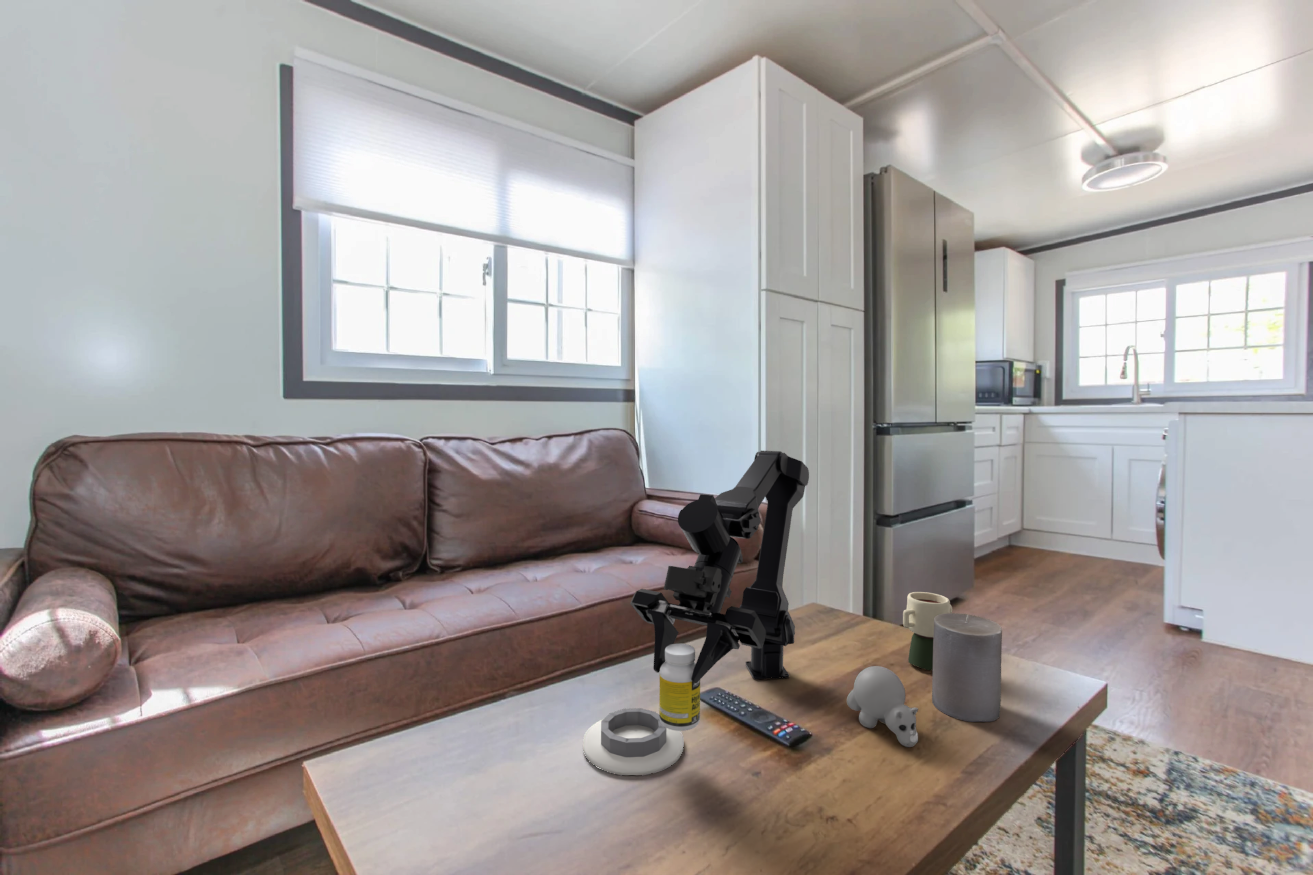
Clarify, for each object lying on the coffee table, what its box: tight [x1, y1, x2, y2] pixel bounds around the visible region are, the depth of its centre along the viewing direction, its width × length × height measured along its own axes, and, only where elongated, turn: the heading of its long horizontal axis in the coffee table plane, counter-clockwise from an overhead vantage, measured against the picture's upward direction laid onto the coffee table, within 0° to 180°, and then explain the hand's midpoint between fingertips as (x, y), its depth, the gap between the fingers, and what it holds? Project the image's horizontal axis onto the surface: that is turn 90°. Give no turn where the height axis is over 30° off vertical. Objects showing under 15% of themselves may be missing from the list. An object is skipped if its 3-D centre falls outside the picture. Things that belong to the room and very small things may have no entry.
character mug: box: [902, 591, 953, 672], centre depth 109 cm, size 11×7×13 cm, turn 109°
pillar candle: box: [931, 612, 1003, 723], centre depth 94 cm, size 10×10×15 cm
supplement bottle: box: [658, 642, 701, 732], centre depth 78 cm, size 5×5×10 cm
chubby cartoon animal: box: [846, 665, 919, 748], centre depth 86 cm, size 7×12×8 cm, turn 17°
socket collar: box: [582, 707, 685, 776], centre depth 83 cm, size 14×14×3 cm
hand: (674, 676), depth 77 cm, fingers closed on supplement bottle, 5 cm apart
